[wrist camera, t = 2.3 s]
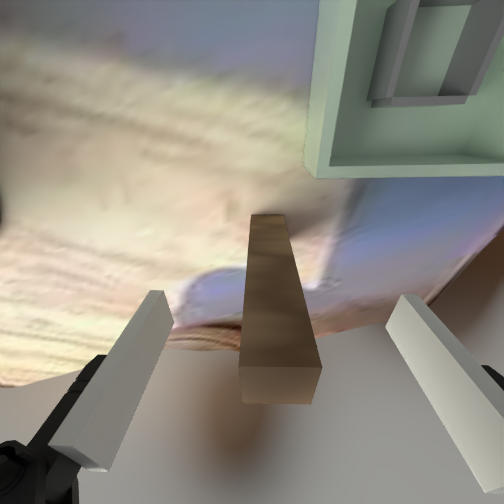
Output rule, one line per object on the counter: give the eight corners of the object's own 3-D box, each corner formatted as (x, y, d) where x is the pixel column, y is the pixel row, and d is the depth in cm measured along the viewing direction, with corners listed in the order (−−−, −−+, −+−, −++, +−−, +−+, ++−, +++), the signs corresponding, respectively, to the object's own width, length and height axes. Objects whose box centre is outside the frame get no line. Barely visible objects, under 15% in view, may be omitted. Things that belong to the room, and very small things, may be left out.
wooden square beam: (251, 242, 21) (242, 402, 9) (251, 215, 19) (238, 366, 7) (281, 242, 21) (310, 404, 9) (283, 214, 19) (322, 367, 7)
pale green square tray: (302, 165, 17) (315, 178, 13) (331, -108, 10) (375, -246, 6) (460, 162, 16) (521, 175, 12) (600, -124, 10) (824, -284, 6)
